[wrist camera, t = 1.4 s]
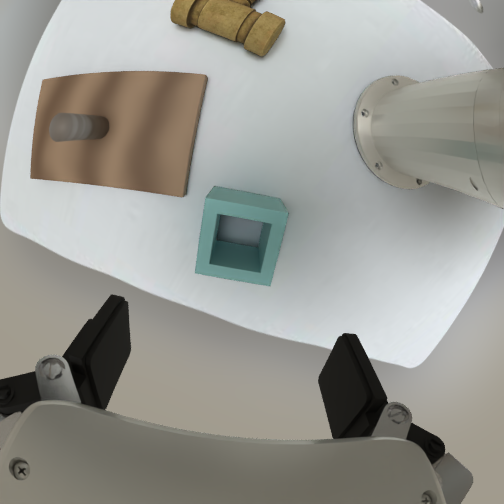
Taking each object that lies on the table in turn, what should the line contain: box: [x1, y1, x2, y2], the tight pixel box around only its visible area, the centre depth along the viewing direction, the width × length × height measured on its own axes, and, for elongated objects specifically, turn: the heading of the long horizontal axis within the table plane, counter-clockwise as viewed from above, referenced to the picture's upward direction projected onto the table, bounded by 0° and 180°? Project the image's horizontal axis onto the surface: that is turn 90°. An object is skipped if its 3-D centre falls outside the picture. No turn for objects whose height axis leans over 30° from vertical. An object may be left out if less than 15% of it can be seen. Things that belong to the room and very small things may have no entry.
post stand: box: [30, 71, 208, 197], centre depth 20 cm, size 20×12×8 cm, turn 79°
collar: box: [195, 186, 289, 286], centre depth 25 cm, size 7×7×6 cm
